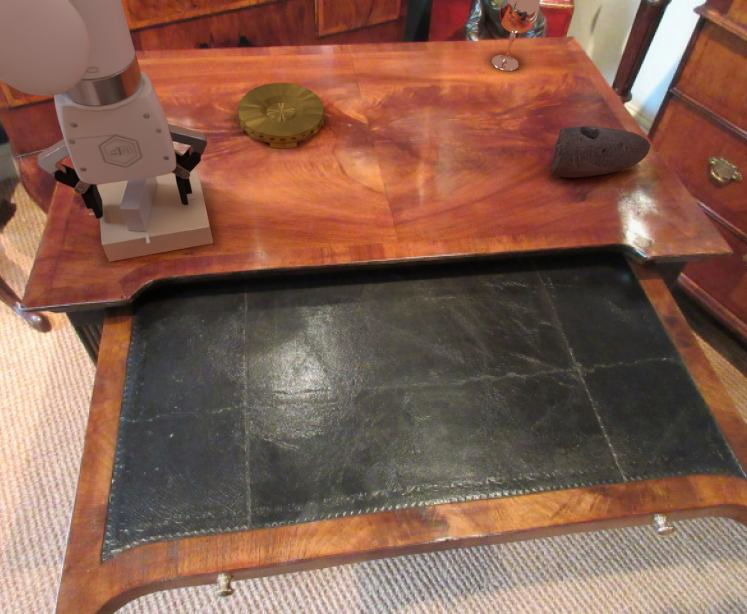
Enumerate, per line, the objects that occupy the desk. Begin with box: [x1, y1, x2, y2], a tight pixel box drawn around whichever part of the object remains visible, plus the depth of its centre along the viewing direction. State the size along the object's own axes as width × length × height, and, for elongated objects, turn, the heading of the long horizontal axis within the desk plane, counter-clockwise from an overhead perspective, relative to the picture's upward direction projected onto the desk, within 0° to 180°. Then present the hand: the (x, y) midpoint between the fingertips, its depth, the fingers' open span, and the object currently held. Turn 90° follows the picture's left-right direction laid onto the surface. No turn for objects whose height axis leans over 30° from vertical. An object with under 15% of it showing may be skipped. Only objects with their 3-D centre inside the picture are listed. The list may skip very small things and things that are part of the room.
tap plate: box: [88, 169, 214, 262], centre depth 73 cm, size 13×12×3 cm
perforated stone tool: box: [551, 125, 651, 179], centre depth 83 cm, size 15×5×7 cm, turn 98°
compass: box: [237, 82, 325, 149], centre depth 86 cm, size 12×12×2 cm
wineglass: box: [491, 0, 541, 72], centre depth 95 cm, size 6×6×12 cm
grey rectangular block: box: [120, 176, 158, 231], centre depth 70 cm, size 8×2×4 cm, turn 2°
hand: (142, 203), depth 71 cm, fingers open, 9 cm apart
